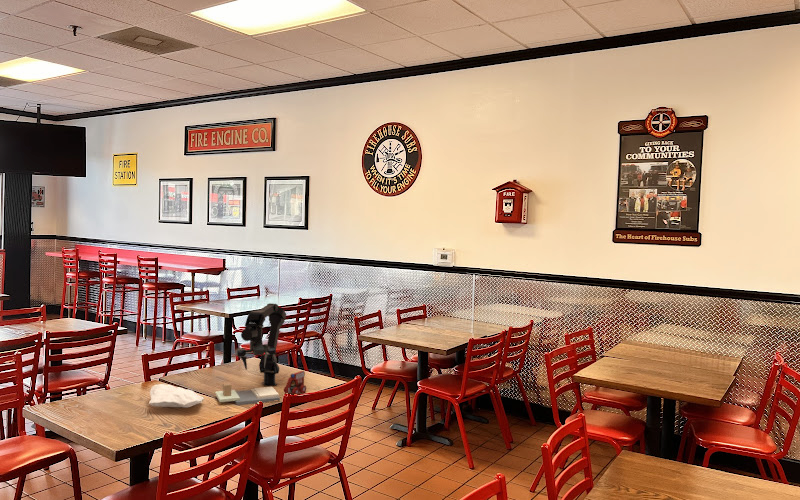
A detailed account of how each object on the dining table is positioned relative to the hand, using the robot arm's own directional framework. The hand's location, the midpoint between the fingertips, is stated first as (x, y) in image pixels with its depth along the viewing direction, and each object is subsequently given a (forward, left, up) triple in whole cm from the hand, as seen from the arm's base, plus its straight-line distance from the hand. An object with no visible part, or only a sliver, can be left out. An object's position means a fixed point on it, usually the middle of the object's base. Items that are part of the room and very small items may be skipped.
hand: (255, 368), depth 304 cm
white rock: (+9, -39, -12) cm, 42 cm away
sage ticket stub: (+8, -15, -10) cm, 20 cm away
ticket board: (+8, -2, -12) cm, 15 cm away
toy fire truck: (+7, +18, -12) cm, 23 cm away
